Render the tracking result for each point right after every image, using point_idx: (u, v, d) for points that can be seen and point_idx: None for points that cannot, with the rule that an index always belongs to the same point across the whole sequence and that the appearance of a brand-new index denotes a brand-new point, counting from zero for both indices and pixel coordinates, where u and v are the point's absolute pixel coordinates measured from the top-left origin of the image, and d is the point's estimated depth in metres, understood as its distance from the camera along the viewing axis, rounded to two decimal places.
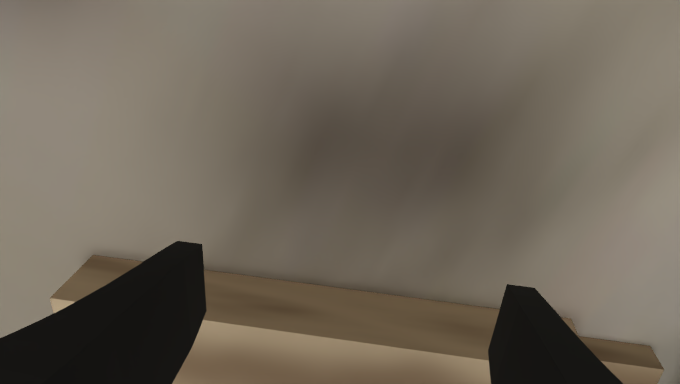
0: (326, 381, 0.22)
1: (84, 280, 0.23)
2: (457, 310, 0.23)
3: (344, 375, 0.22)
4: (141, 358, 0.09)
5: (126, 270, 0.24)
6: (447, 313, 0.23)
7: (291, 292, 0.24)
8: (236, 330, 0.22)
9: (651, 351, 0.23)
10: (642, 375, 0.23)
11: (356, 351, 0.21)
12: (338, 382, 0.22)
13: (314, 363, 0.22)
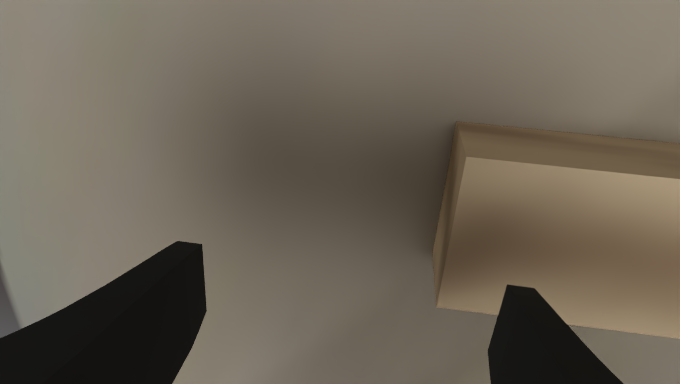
0: None
1: (484, 142, 0.16)
2: None
3: None
4: (141, 358, 0.09)
5: (522, 135, 0.17)
6: None
7: None
8: None
9: None
10: None
11: None
12: None
13: None
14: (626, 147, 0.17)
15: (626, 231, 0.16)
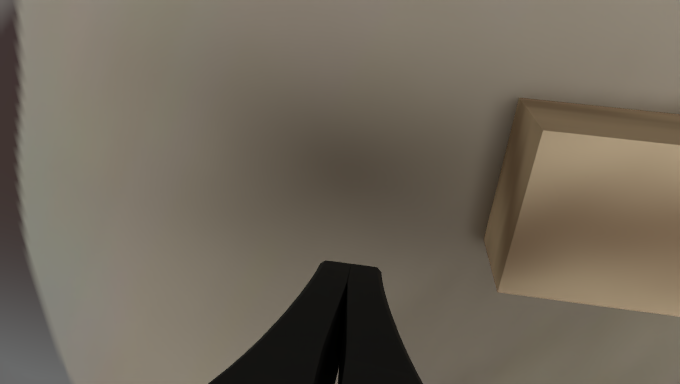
0: None
1: (555, 117, 0.16)
2: None
3: None
4: None
5: (592, 111, 0.16)
6: None
7: None
8: None
9: None
10: None
11: None
12: None
13: None
14: None
15: None
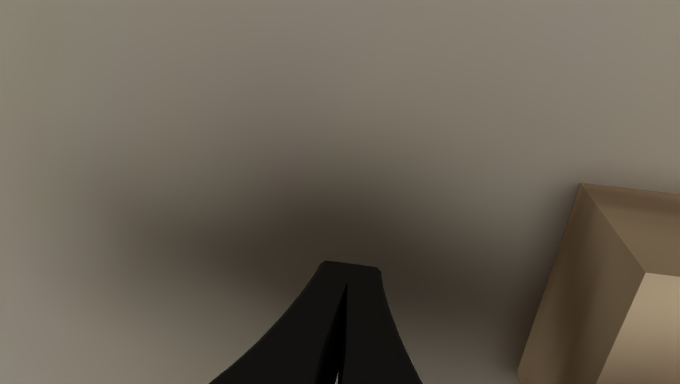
0: None
1: (652, 232, 0.09)
2: None
3: None
4: None
5: None
6: None
7: None
8: None
9: None
10: None
11: None
12: None
13: None
14: None
15: None
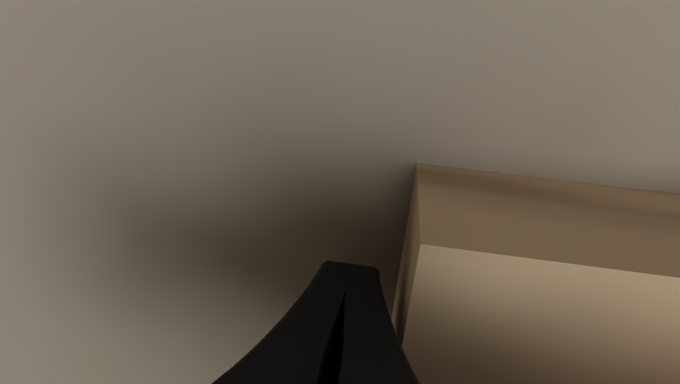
0: None
1: (456, 208, 0.10)
2: None
3: None
4: None
5: (522, 192, 0.10)
6: None
7: None
8: None
9: None
10: None
11: None
12: None
13: None
14: None
15: None
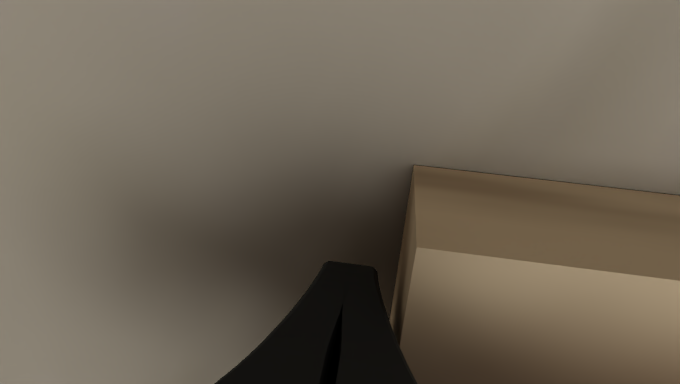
0: None
1: (453, 210, 0.10)
2: None
3: None
4: None
5: (519, 194, 0.10)
6: None
7: None
8: None
9: None
10: None
11: None
12: None
13: None
14: None
15: None
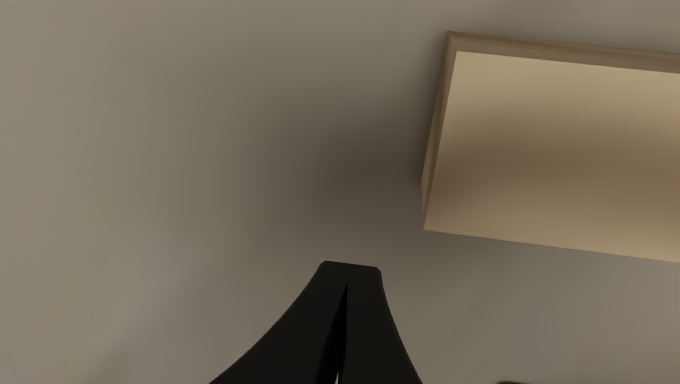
0: None
1: (476, 43, 0.15)
2: None
3: None
4: None
5: (518, 42, 0.16)
6: None
7: None
8: None
9: None
10: None
11: None
12: None
13: None
14: (630, 54, 0.16)
15: (628, 137, 0.14)
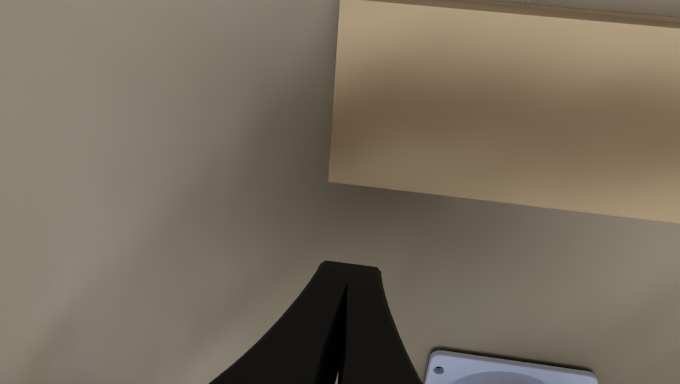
0: None
1: None
2: None
3: None
4: None
5: None
6: None
7: (673, 19, 0.16)
8: (642, 39, 0.14)
9: None
10: None
11: None
12: None
13: None
14: (522, 6, 0.16)
15: (512, 83, 0.15)
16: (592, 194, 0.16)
